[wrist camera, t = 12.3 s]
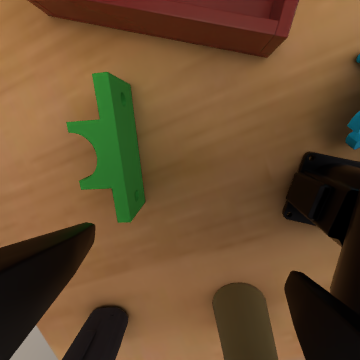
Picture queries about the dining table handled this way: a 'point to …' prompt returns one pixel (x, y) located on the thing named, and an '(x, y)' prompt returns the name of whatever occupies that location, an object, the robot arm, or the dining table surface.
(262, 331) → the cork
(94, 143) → the pipe clamp
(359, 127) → the blue toy dinosaur
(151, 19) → the open red box
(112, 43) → the dining table surface
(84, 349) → the two-way radio
